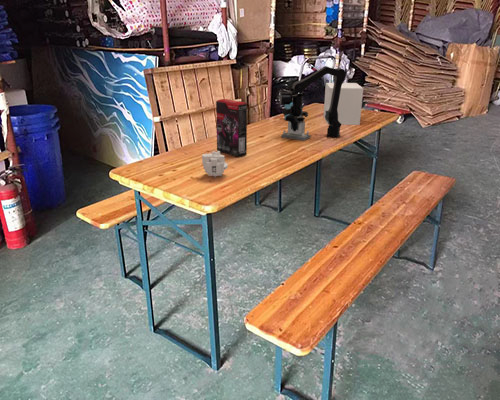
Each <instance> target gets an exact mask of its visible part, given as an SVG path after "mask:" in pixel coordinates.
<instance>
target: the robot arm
mask: <svg viewBox="0 0 500 400" xmlns="http://www.w3.org/2000/svg"><path fill="white" fill-rule="evenodd" d="M327 75H330V76H332V80H333V83H334V87H333V92H332V98H331V104H330V108H329V110H328V111H326V115H325V119H326V120H325V119H324V120H325V122H326V121H327V122H328V124H327V125H328V128H327V132H326V137H329V138H335V139H336V138H339V137H341V134H340V133H341V132H340V131H341V127H342V125H341V123H340V122H339V121H338V111H337V108H338V103H339V97H340V91H341V86H342V84H343V83H345V80H346V76H347V71H346V70H345V69H344V68H340V67H336V68H333V67H330V66H327V65H323V66H322V68H320V69H318V70H316V71H315V72H313V73H312V74H310V75H309V76H307V77H305V78H302V79H300V80H297V81H295V82H293V84H292V85H291V88H290V90H289V91H288V92H280V94H279V95H280V96H279V105H282V106H283V105H284V106H285V105H288V104H290V103H293V104H292V106H291V108H290V109H286V108H285V107H284V108H283V109H282V112H281V113H282V115H284V116H286V115H288V114H290V115H288V116H286V117H285V119H284V121H286V122H288V121H290V122H291V124H292V128H293V131H294V132H295V131H296V128H297V125H298V122H299V121H304V122H305V120H306V118H307V117H309V113H308V112H307V111H304V110H302V108H304V105H303V100H304V99H303V97H305V98H306V97H307V95H306V94H305V90H306V89H308V87H310V85H312V84H313V83H315V82H316V81H318V80H319V79H321V78H323V77H325V76H327ZM327 122H326V123H327Z"/></svg>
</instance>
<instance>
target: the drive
mask: <svg viewBox="0 0 500 400" xmlns="http://www.w3.org/2000/svg"><path fill="white" fill-rule="evenodd" d="M305 128H306V121H305V120H304V121H299V122H298V125H297V128H296V131H295V132H294V131H293V128H292V124H291V122H290V121H287V132H288V133H292V134H299V135H302V133H304V134H305Z"/></svg>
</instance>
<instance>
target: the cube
mask: <svg viewBox="0 0 500 400" xmlns="http://www.w3.org/2000/svg"><path fill="white" fill-rule="evenodd" d="M333 87H334V82H325V92H324V106H323V118H325V115H326V111H328V110H329V108H330V104H331V98H332V92H333ZM363 95H364V87H362V86H361V85H359V84H358V83H357V82H343V84H342V86H341V91H340V97H339V103H338V108H337V111H338V121H339V122H340V123H341V126H344V125H345V126H360V124H361V115H362V114H361V113H362V106H363ZM324 120H325V122H326V124H327V125H329V124H328V122H327V121H326V119H324Z"/></svg>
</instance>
